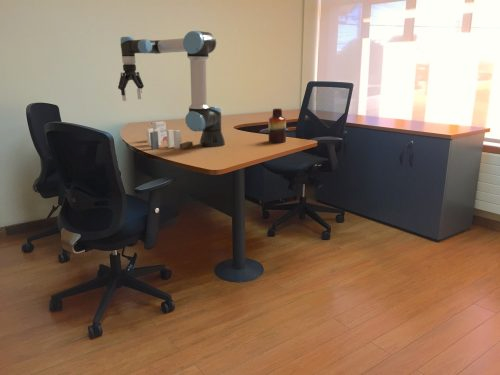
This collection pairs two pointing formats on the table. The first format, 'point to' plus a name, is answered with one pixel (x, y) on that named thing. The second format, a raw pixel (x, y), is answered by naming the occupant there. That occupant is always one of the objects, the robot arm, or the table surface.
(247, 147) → the table surface
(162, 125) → the ink box
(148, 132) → the domino
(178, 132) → the domino
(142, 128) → the table surface
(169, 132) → the domino
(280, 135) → the brown bottle
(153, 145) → the domino
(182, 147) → the block
